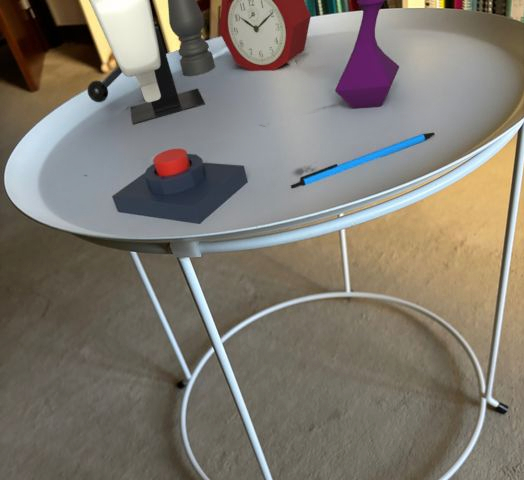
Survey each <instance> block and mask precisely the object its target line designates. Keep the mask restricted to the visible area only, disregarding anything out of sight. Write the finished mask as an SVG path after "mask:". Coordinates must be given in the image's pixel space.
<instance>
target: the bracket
mask: <svg viewBox="0 0 524 480" xmlns="http://www.w3.org/2000/svg"><path fill="white" fill-rule="evenodd" d="M154 26H155V31H156V36H157V41H158V47H159V53H160V67H159V68H158V69H156V70H154V71H155V76H156V81H157V84H158V87H159V91H160V94H161V97H160V99H159V100H156V101H152V102H144V103H140V104H138V105H134V106H131V107H129V109H130V116H131V123H132V125H133V126H135V125H137V124H141V123H145V122H148V121H152V120H156V119H159V118H163V117H166V116H170V115H173V114H176V113H181V112H184V111H186V110H190V109H194V108H198V107H201V106H204V105H206V103H205V99H204V98H203V97H202V93H201V92H200V89H199V88H194V89H191V90H186V91H183V92H180V93H178V91H177V87H176V84H175V81H174V77H173V73H172V70H171V67H170V63H169V60H168V55H167V52H166V49H165V45H164V43H163V39H162V34H161V32H160V28H159V26H158V23H157V22H156V21H154Z"/></svg>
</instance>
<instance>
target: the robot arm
mask: <svg viewBox="0 0 524 480" xmlns="http://www.w3.org/2000/svg"><path fill="white" fill-rule="evenodd" d="M88 1H89V3H90V6H91V8H92V10H93V12H94V15H95V18H96V19H97V21H98V25H99V26H100V28H101V30H102V33H103V35H104V38H105V40H106V41H107V44H108V46H109V48H110V50H111V54H112V55H113V57H114V59H115V61H116V64H117V66H118V65H119V67H120V69H121V71H122V74H123V76H125V77H126V78H131V77H135V78H136V81H137V83H138V85H139V87H140V91H141V93H142V97H143V99H144V101H145V103H148V102H152V101H156V100H159V99H160V97H161V94H160V91H159V87H158V84H157V81H156V76H155V71H154V70H156V69H158V68H159V67H160V53H159V47H158V41H157V36H156V31H155V26H154V22H155V21H154V17H153V16H154V15H153V11H152V6H151V1H150V0H88Z"/></svg>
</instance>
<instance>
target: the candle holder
mask: <svg viewBox="0 0 524 480" xmlns="http://www.w3.org/2000/svg"><path fill="white" fill-rule="evenodd" d="M167 9H168V22H169V27H170V29H171V31H172V32H173V33H174V35H175V36H176V37H177V39H178V41H179V42H180V44H179V48H178V55H179V56H180V57H181V58H180V59H179V64H180V67H181V71H182V75H183V76H184V77H196V76H200V75H204V74H206V73H209V72H211V71H212V70H214V69H215V68H216V63H215V60H214V57H213V56H214V55H213V52H212V51H211V50H209V48H210V45H209V43H208V42H207V41H206V40H205V39H204V38H203V37H202V36H203V32H202V31H203V28H204V23H205V21H204V15H203V12H202V11H201V9H200V6H199V4H198V1H197V0H167Z"/></svg>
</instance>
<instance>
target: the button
mask: <svg viewBox="0 0 524 480" xmlns="http://www.w3.org/2000/svg"><path fill="white" fill-rule="evenodd" d="M187 154H188V153H187V150H185V149H184V148H171V149H167V150H164V151H162V152H160V153H158V154H157V155H155V156H154V157H153V159H152V163H153V164H154V165H155V168H156V171H157V174H158V176H169V175H174V174H177V173H180V172H182V171H185V170H186V169H187V168H189V167H190V163H189V159H188V156H187Z"/></svg>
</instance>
